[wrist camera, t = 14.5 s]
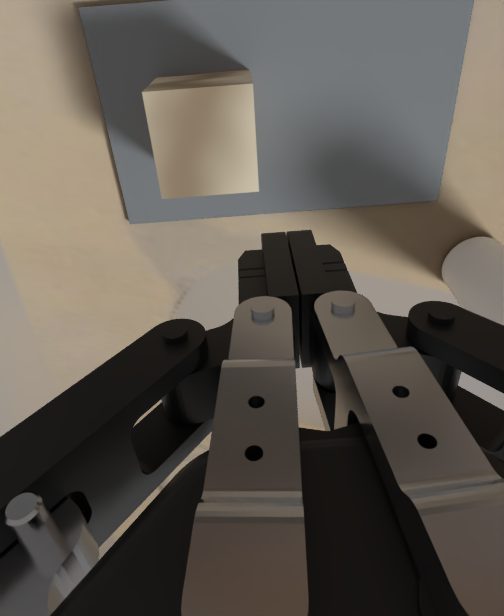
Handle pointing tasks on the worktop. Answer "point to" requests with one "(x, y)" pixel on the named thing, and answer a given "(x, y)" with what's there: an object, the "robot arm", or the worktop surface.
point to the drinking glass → (477, 276)
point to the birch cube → (203, 133)
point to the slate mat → (291, 95)
